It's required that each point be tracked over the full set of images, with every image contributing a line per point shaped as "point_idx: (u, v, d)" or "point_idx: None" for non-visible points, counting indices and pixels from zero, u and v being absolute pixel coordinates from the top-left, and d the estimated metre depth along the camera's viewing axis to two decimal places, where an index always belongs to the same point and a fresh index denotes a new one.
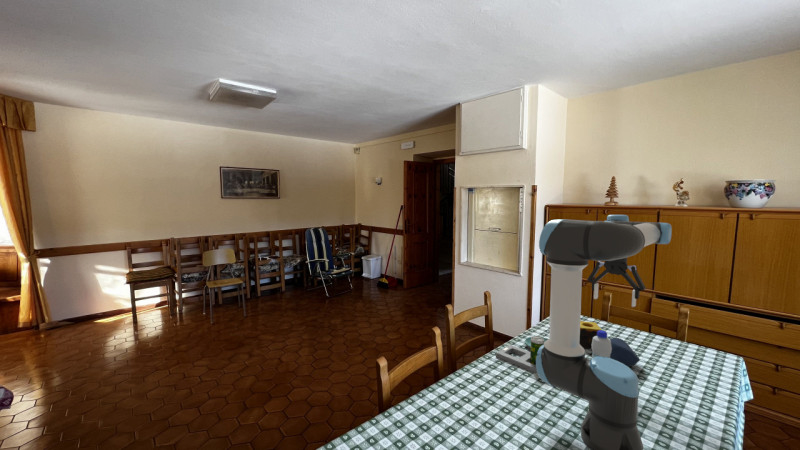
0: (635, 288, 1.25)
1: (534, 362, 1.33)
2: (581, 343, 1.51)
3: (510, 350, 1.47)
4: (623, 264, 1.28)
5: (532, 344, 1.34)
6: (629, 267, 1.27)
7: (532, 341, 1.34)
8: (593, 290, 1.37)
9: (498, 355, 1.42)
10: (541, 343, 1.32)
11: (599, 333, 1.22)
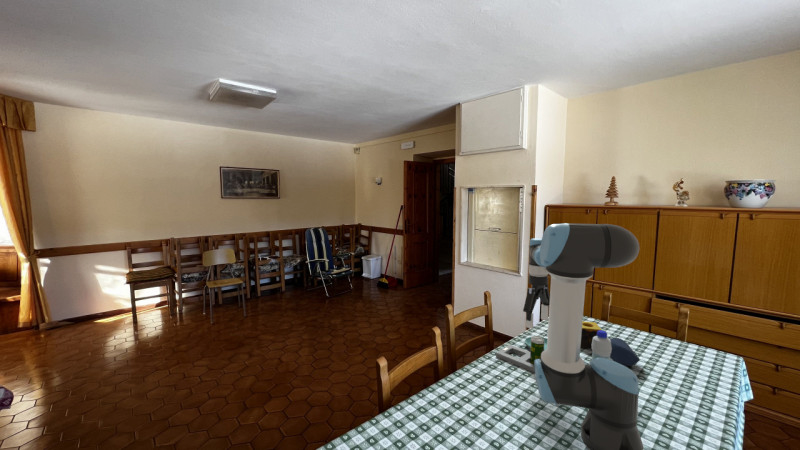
0: None
1: None
2: (581, 343, 1.51)
3: (510, 350, 1.47)
4: None
5: (532, 344, 1.34)
6: None
7: (532, 341, 1.34)
8: None
9: (498, 355, 1.42)
10: (541, 343, 1.32)
11: (599, 333, 1.22)
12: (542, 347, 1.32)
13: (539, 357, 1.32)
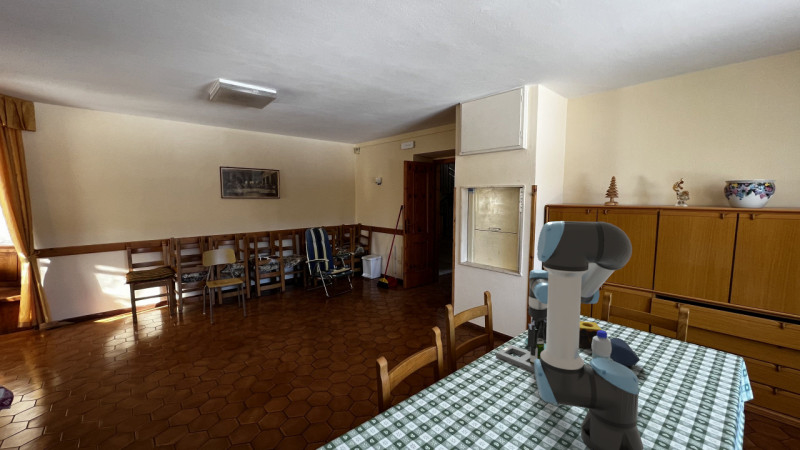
0: None
1: None
2: (581, 343, 1.51)
3: (510, 350, 1.47)
4: None
5: None
6: None
7: None
8: None
9: (498, 355, 1.42)
10: (541, 343, 1.32)
11: (599, 333, 1.22)
12: (542, 347, 1.32)
13: (539, 357, 1.32)
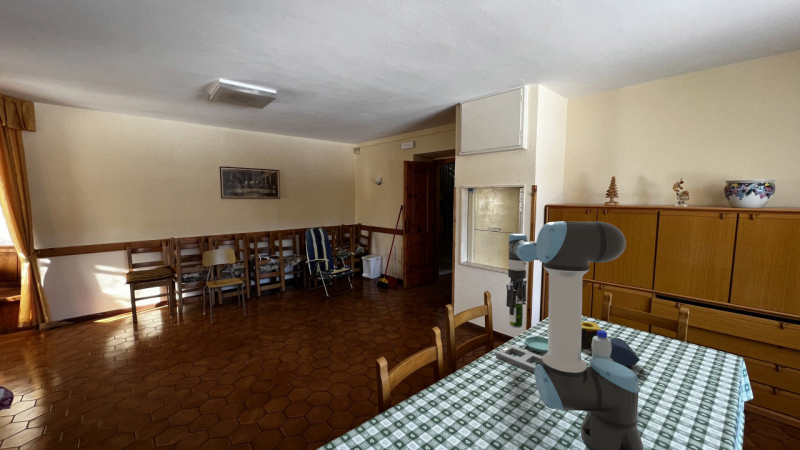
0: None
1: None
2: (581, 343, 1.51)
3: (510, 350, 1.47)
4: None
5: None
6: None
7: None
8: None
9: (498, 355, 1.42)
10: (519, 303, 1.38)
11: (599, 333, 1.22)
12: (520, 307, 1.39)
13: (517, 316, 1.39)
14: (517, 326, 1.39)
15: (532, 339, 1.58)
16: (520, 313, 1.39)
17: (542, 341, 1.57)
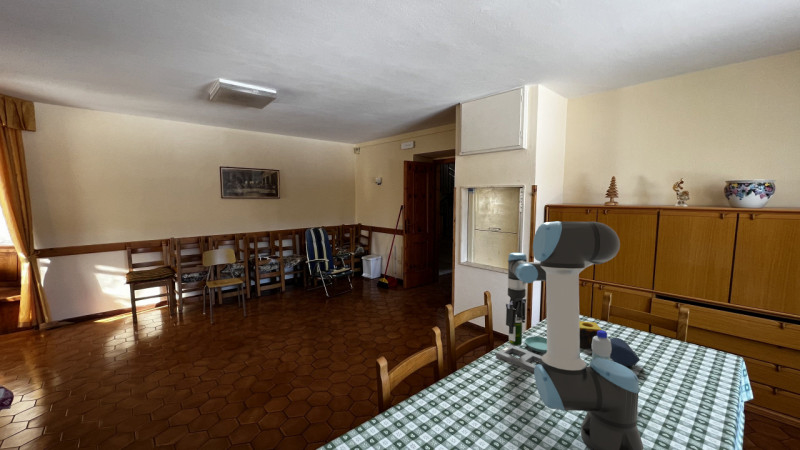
0: None
1: None
2: (581, 343, 1.51)
3: (510, 350, 1.47)
4: None
5: None
6: None
7: None
8: None
9: (498, 355, 1.42)
10: (519, 322, 1.39)
11: (599, 333, 1.22)
12: (520, 326, 1.39)
13: (517, 335, 1.39)
14: (516, 345, 1.40)
15: (532, 339, 1.58)
16: (519, 332, 1.39)
17: (542, 341, 1.57)
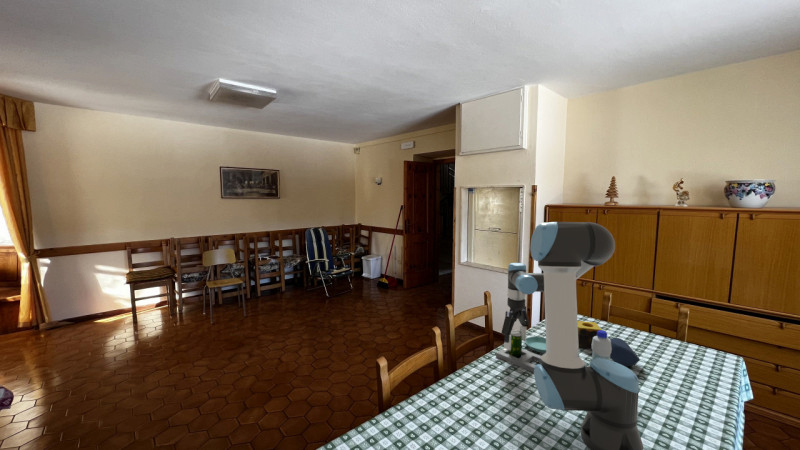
0: None
1: (512, 354, 1.41)
2: (581, 343, 1.51)
3: None
4: None
5: None
6: None
7: (510, 334, 1.41)
8: (522, 331, 1.47)
9: (498, 355, 1.42)
10: (519, 335, 1.39)
11: (599, 333, 1.22)
12: (520, 339, 1.40)
13: (517, 349, 1.40)
14: None
15: (532, 339, 1.58)
16: (519, 345, 1.40)
17: (542, 341, 1.57)
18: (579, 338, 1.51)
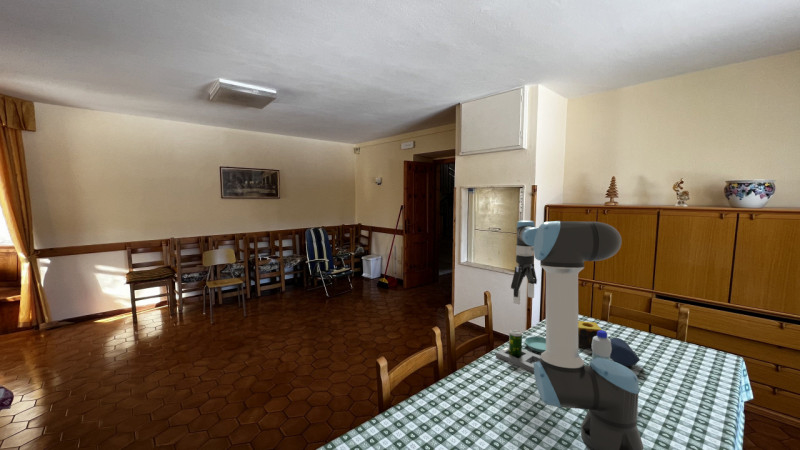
0: None
1: (512, 354, 1.41)
2: (581, 343, 1.51)
3: None
4: None
5: (510, 336, 1.41)
6: None
7: (510, 334, 1.41)
8: None
9: (498, 355, 1.42)
10: (519, 335, 1.39)
11: (599, 333, 1.22)
12: (520, 339, 1.40)
13: (517, 349, 1.40)
14: None
15: (532, 339, 1.58)
16: (519, 345, 1.40)
17: (542, 341, 1.57)
18: (579, 338, 1.51)
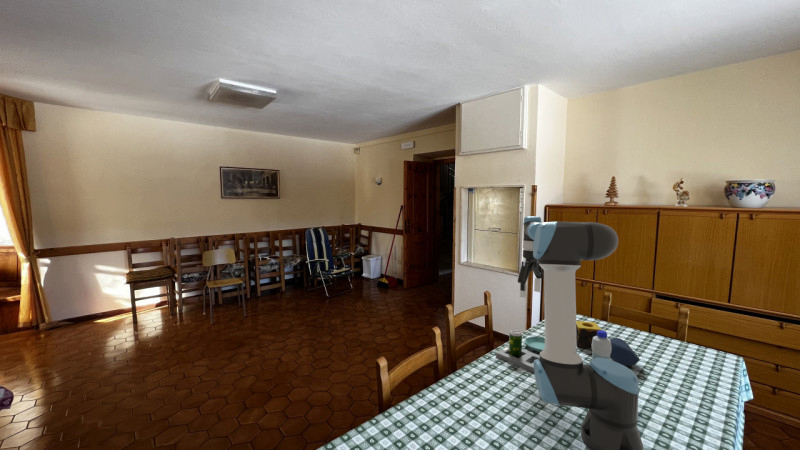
0: None
1: (512, 353, 1.41)
2: (581, 343, 1.51)
3: None
4: None
5: (510, 336, 1.41)
6: None
7: (510, 334, 1.41)
8: None
9: (498, 355, 1.42)
10: (519, 335, 1.39)
11: (599, 333, 1.22)
12: (520, 339, 1.40)
13: (517, 349, 1.40)
14: None
15: (532, 339, 1.58)
16: (519, 345, 1.40)
17: (542, 341, 1.57)
18: (579, 338, 1.51)
